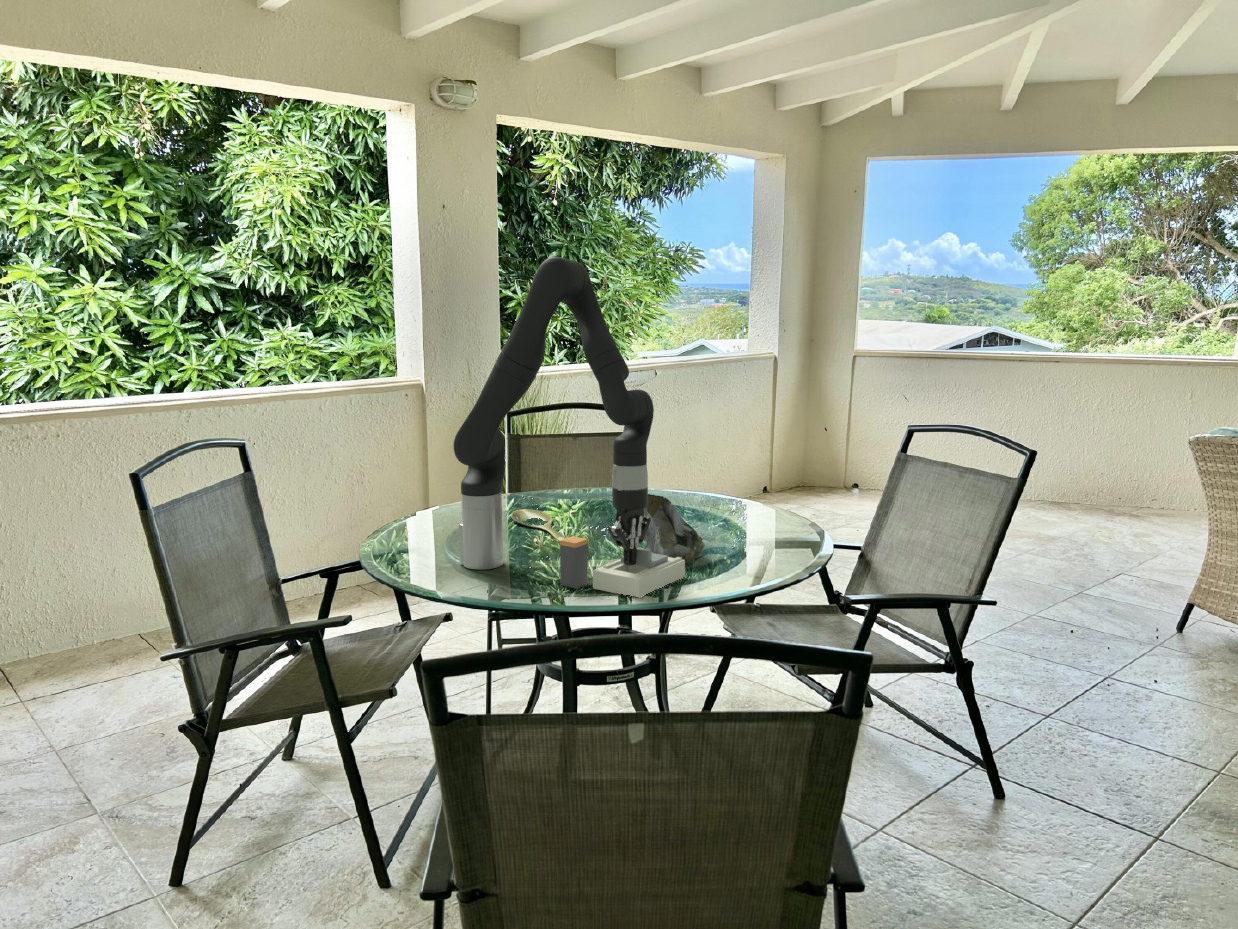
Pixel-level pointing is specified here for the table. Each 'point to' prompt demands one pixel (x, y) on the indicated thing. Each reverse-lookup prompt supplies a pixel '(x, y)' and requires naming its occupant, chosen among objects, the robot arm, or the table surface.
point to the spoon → (528, 514)
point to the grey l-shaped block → (648, 558)
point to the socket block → (637, 577)
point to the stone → (670, 531)
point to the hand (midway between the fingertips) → (630, 564)
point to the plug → (574, 562)
